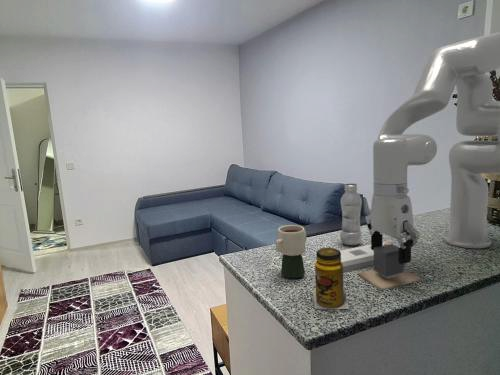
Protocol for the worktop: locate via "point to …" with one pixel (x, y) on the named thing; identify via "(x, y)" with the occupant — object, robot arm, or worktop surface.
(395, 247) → the block
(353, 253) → the power strip
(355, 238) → the plastic bottle
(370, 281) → the cork pad
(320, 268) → the condiment
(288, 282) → the worktop surface
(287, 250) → the character mug
